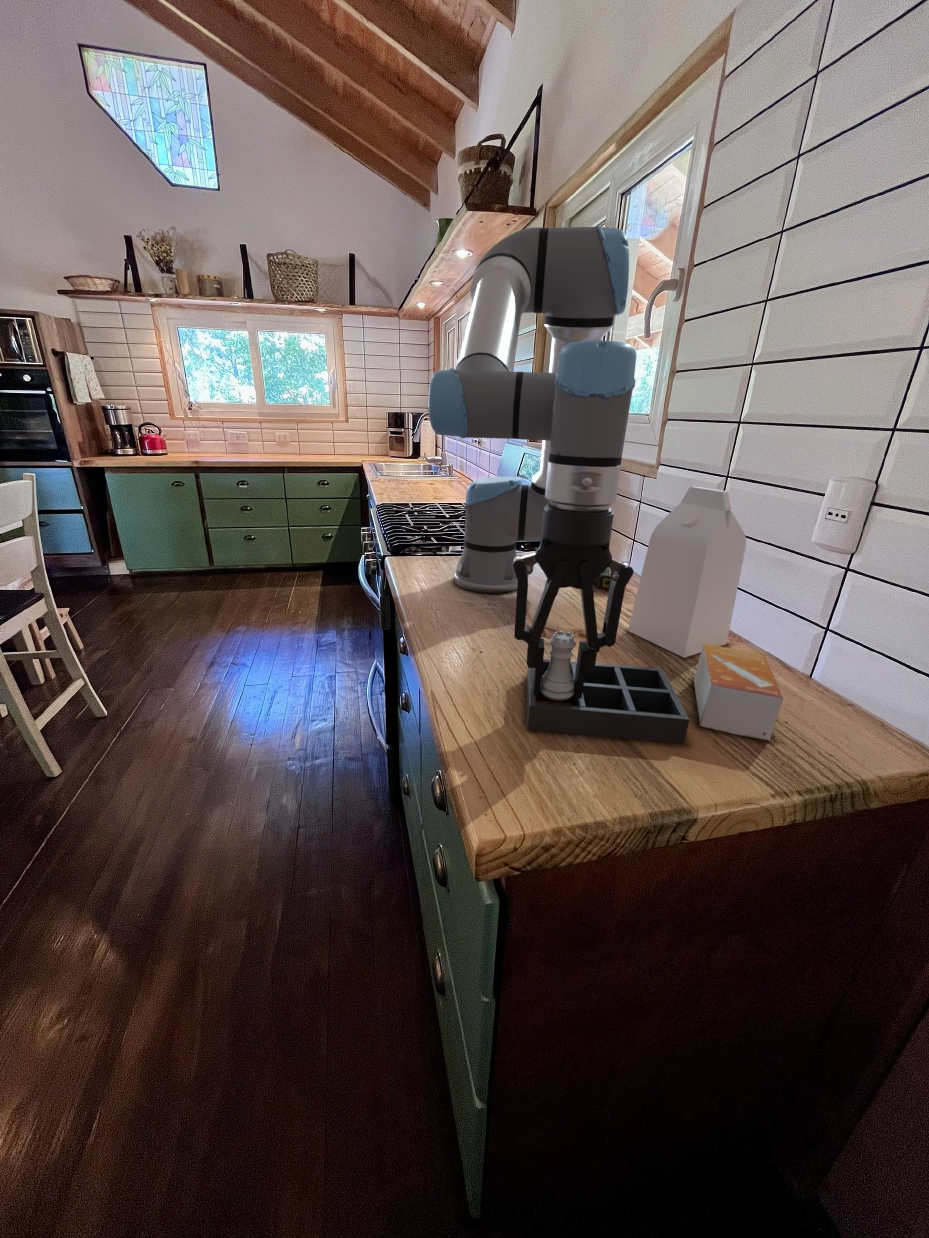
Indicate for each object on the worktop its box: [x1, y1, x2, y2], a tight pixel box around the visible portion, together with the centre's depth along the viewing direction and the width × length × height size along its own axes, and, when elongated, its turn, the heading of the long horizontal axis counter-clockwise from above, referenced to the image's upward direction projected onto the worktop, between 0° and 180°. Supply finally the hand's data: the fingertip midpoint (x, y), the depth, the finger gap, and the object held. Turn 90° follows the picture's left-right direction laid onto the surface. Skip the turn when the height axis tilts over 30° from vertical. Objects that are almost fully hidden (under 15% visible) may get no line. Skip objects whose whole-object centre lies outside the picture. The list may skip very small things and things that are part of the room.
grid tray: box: [526, 658, 690, 745], centre depth 66 cm, size 13×19×4 cm
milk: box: [627, 485, 747, 659], centre depth 84 cm, size 12×12×26 cm
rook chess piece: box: [540, 630, 577, 700], centre depth 61 cm, size 4×4×8 cm
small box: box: [693, 644, 784, 741], centre depth 66 cm, size 8×6×13 cm
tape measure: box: [593, 567, 611, 590], centre depth 113 cm, size 7×7×4 cm
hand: (556, 690), depth 63 cm, fingers closed on rook chess piece, 4 cm apart
